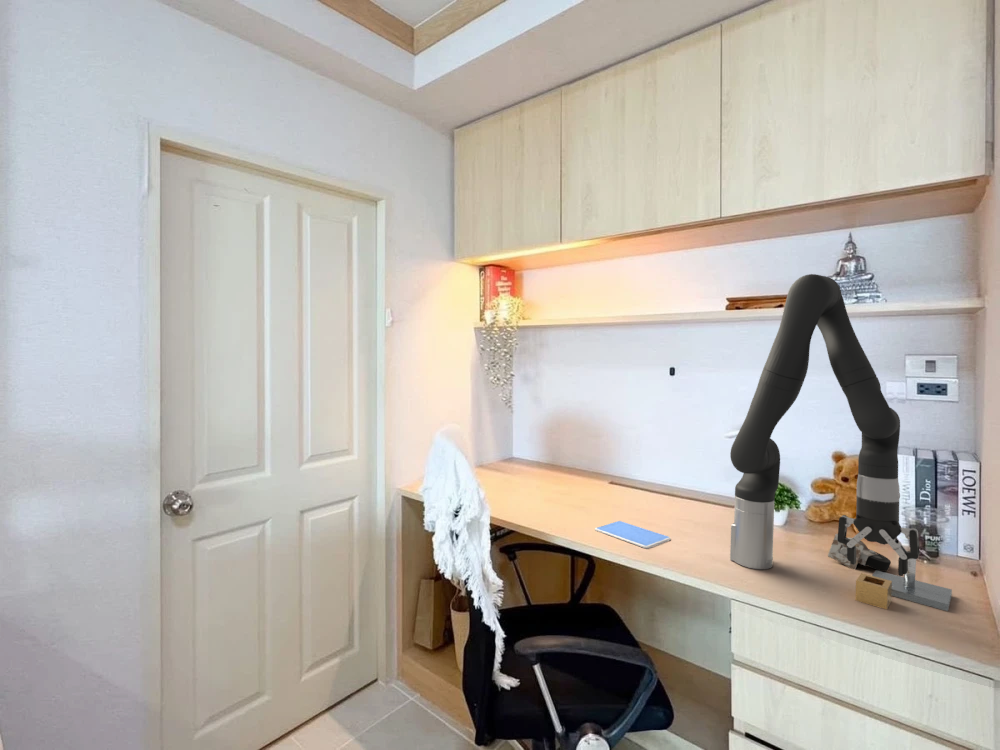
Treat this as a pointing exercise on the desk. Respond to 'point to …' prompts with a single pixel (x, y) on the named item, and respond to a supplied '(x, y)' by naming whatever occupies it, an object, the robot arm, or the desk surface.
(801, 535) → the desk surface
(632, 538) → the tablet computer
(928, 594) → the post block
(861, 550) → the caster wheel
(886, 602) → the tan slotted block
